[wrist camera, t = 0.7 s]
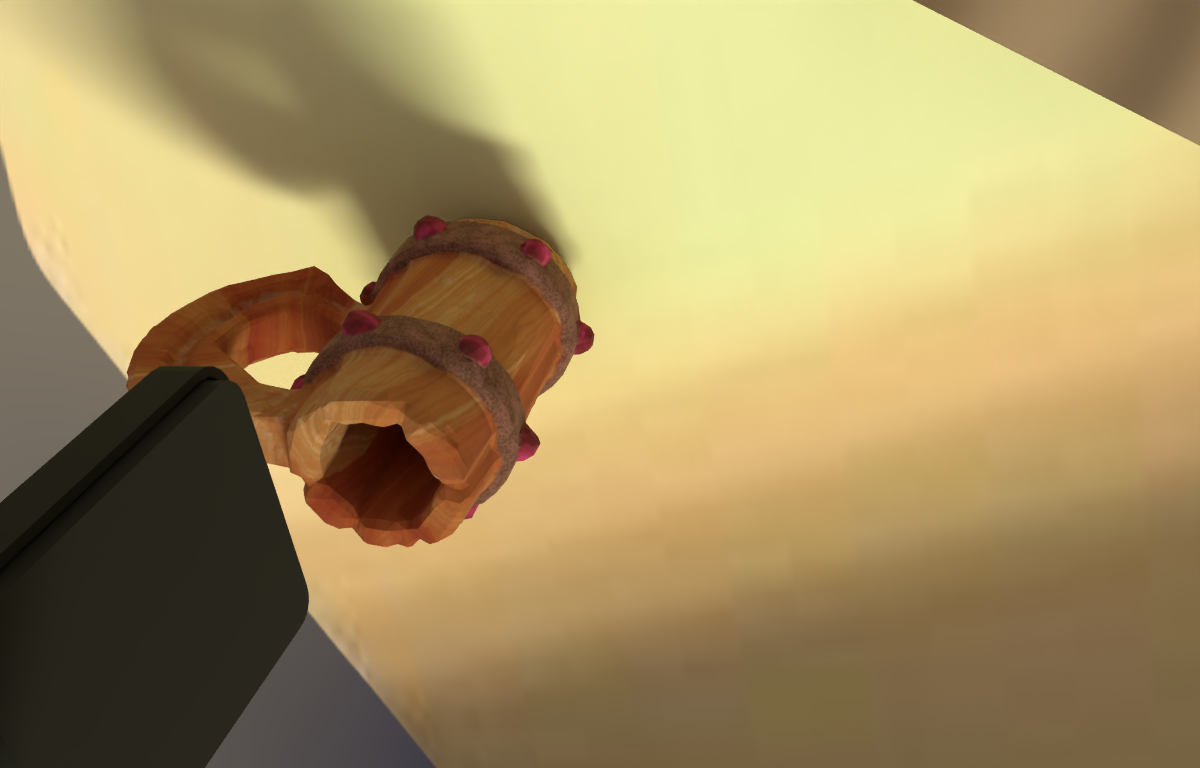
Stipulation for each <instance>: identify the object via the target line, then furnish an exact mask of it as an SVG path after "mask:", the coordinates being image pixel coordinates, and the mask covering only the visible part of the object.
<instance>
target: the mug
mask: <svg viewBox="0 0 1200 768" xmlns="http://www.w3.org/2000/svg"><path fill="white" fill-rule="evenodd" d="M576 292H577V286H576V283H575V281H574V279H573V276H572V274H571V272H570V270H569V269H568V267H567V265H566V264H565V262H564V261H563V260H562V258H561V257H560V256H559V255H558V254H557V253H556V252H555V251H554V250H553V249H552V248H551V247H550V245H549V244H548V243H547V242H546V241H544V240H542V239H540V238H538V237H536V236H534V235H532V234H530V233H529V232H527V231H524V230H522V229H520V228H518V227H516V226H514V225H512V224H509V223H507V222H505V221H499V220H487V219H481V218H477V219H459V220H455V221H453V222H446V223H445V222H444V221H443V220H441V219H439V218H438V217H434V216H426V217H424V218H422V219H420V220H419V221H418V222H417V223H416V225H415V226H414V235H413V236H411V237H409V238H408V239H407V240H406V241H405V242H404V243H403V244H402V246H401V247H400V248H399V249H398V250H397V252H396V253H395V254H394V256H393V257H392V258H391V259H390V261H389V262H388V263H387V265H386V266H385V268H384V269H383V271H382V272H381V274H380V276H379V278H378V280H377V282H371V283H369V284H368V285H366V286H365V287H364V288H363V291H362V293H361V295H360V300H361V303H362V304H361V303H359V302H357V301H355V300H354V299H352V298H351V297H350V296H349V295H348V294H346V293H345V292H344V291H343V290H342V289H341V288H340V287H339V286H338V285H337V284H336V283H335V282H334V281H333V280H332V278H331V277H330V276H329V275H328V274H327V273H325V272H323V271H322V270H320V269H318V268H317V267H315V266H313V267H309V268H305V269H301V270H297V271H293V272H288V273H282V274H276V275H271V276H267V277H263V278H259V279H255V280H250V281H246V282H242V283H237V284H232V285H228V286H225V287H223V288H220V289H218V290H215V291H213V292H210V293H208V294H206V295H204V296H202V297H201V298H199V299H197V300H195V301H193V302H191V303H189V304H187V305H186V306H184V307H182V308H181V309H179V310H177V311H175V312H174V313H172V314H170V315H169V316H168V317H167V318H165V319H164V320H163V321H162V322H160V323H159V324H158V325H156V326H154V327H153V328H152V329H151V330H150V331H149V332H148V334H147V335H146V336H145V337H144V338H143V339H142V341H141V342H140V343H139V345H138V346H137V348H136V349H135V351H134V353H133V356H132V359H131V362H130V365H129V368H128V371H127V374H128V382H127V385H126V387H127V389H128V391H129V390H131V389H132V388H133V387H134V386H135V385H136V384H137V383H139V382H140V381H141V380H142V379H143V378H144V377H146V376H147V375H148V374H149V373H150V372H151V371H153V370H154V369H156V368H158V367H160V366H214V367H216V368H219V369H221V370H222V371H223V372H224V373H225V374H226V375H227V377H228V379H229V381H232V382H235V383H237V385H238V386H239V387H240V388H241V389H242V392H243V394H244V396H245V399H246V402H247V405H248V408H249V411H250V414H251V417H252V420H253V423H254V426H255V429H256V432H257V435H258V438H259V441H260V444H261V447H262V451H263V454H264V457H265V460H266V463H269V464H274V465H279V466H283V467H288V468H290V472H291V473H293V474H295V475H298V476H300V477H302V479H303V480H304V482H305V486H304V496H305V501H306V503H307V504H308V505H309V507H310V508H311V509H312V510H313V511H314V512H315V513H316V514H317V515H318V516H319V517H320V518H321V519H322V520H323V521H324V522H325V523H327V524H329V525H331V526H334V527H336V528H338V529H341V528H351V527H352V528H353V529H354V530H355V532H356V533H357V534H358V535H359V536H360V537H361V538H362V540H363V541H364V542H366V543H367V544H371V545H377V546H382V547H389V546H392V545H396V544H400V545H403V546H406V547H410V546H413V545H414V544H415V543H416V542H417V541H418V540H419V539H422V540H423V541H425V542H427V543H429V544H432V543H435V542H438V541H440V540H442V539H444V538H446V537H448V536H449V535H451V534H453V533H454V531H455V530H456V529H457V528H458V526H459V525H460V524H461V523H462V522H463V520H464V519H468V518H472V516H473V514H474V513H475V511H476V509H477V507H478V505H479V504H481V503H484V502H485V501H486V500H487V499H489V498H490V497H491V496H493V495H494V494H495V493H496V492H497V491H498V490H499V489H500V487H501V486H502V485H503V484H504V483H505V481H506V480H507V478H508V476H509V475H510V473H511V471H512V469H513V467H514V465H515V463H516V461H524V460H526V459H528V458H529V457H531V456H533V455H534V454H535V452H536V450H537V449H538V447H539V445H540V441H539V438H538V437H537V435H536V434H535V433H534V432H533V431H532V429H531V428H530V427H529V426H528V425H527V424H526V419H527V417H528V415H529V413H530V411H531V408H532V407H533V405H534V404H535V401H536V399H537V397H538V396H540V395H541V394H543V393H544V392H545V391H547V390H548V389H549V388H551V387H552V386H553V385H554V384H555V383H556V382H557V381H558V380H559V379H560V377H561V376H562V375H563V374H564V372H565V370H566V368H567V366H568V364H569V362H570V360H571V358H572V356H573V355H574V354H582V353H584V352H586V351H588V350H589V349H590V348H591V347H592V345H593V340H594V333H593V331H592V329H591V327H589V326H588V325H586V324H585V323H583V322H581V321H580V314H579V307H578V303H577V300H576ZM289 352H297V353H305V352H316V353H319V355H318V356H317V357H316V358H315V360H314V361H313V362H312V364H311V366H310V367H309V369H308V371H307V372H306V374H304V375H301V376H300V377H298V378H297V379H296V380H295V381H294V383H293V385H292V387H291V389H290V390H289V389H284V388H279V387H274V386H269V385H265V384H261V383H259V382H257V381H256V380H255V379H254V378H253V377H252V376H251V375H250V374H248V373H247V372H246V371H245V370H244V368H246V367H247V366H248V365H250V364H253V363H256V362H259V361H262V360H264V359H267V358H270V357H273V356H276V355H280V354H284V353H289Z"/></svg>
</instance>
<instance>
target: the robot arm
mask: <svg viewBox="0 0 1200 768" xmlns="http://www.w3.org/2000/svg"><path fill="white" fill-rule="evenodd" d="M308 603H309V593H308V588H307V584H306V581H305V578H304V575H303V572H302V569H301V566H300V563H299V560H298V557H297V554H296V551H295V548H294V545H293V542H292V539H291V536H290V533H289V530H288V527H287V524H286V520H285V517H284V514H283V511H282V508H281V505H280V502H279V499H278V496H277V493H276V490H275V487H274V484H273V481H272V478H271V475H270V472H269V469H268V466H267V463H266V460H265V457H264V454H263V451H262V447H261V444H260V441H259V438H258V435H257V432H256V429H255V426H254V423H253V420H252V417H251V414H250V411H249V408H248V405H247V402H246V399H245V396H244V394H243V392H242V389H241V388H240V387H239V386H238V385H237V383H235V382H232V381H229V379H228V377H227V375H226V374H225V373H224V372H223V371H222V370H221V369H219V368H216V367H214V366H160V367H158V368H156V369H154V370H153V371H151V372H150V373H149V374H148V375H147V376H146V377H144V378H143V379H142V380H141V381H140V382H139V383H137V384H136V385H135V386H134V387H133V388H132V389H131V390H129V391H128V392H127V393H126V394H125V395H124V396H123V397H121V398H120V399H119V400H118V401H117V402H116V403H115V404H113V405H112V406H111V407H110V408H109V409H108V410H107V411H105V412H104V413H103V414H102V415H101V416H100V417H98V418H97V419H96V420H95V421H94V422H93V423H91V424H90V426H88V427H87V428H86V429H85V430H84V431H82V432H81V433H80V434H79V435H78V436H77V437H75V438H74V439H73V440H72V441H71V442H70V443H69V444H67V445H66V446H65V447H64V448H63V449H62V450H60V451H59V452H58V453H57V454H56V455H55V456H54V457H53V458H51V459H50V460H49V461H48V462H47V463H46V464H44V465H43V466H42V467H41V468H40V469H39V470H37V471H36V472H35V473H34V474H33V475H32V476H31V477H29V478H28V479H27V480H26V481H25V482H24V483H22V484H21V485H20V486H19V487H18V488H17V489H16V490H14V491H13V492H12V493H11V494H10V495H9V496H8V497H6V498H5V499H4V500H3V501H2V502H1V503H0V768H205V767H206V765H207V764H208V762H209V761H210V759H211V758H212V756H213V755H214V753H215V752H216V750H217V749H218V748H219V746H220V745H221V743H222V742H223V740H224V739H225V737H226V736H227V734H228V733H229V731H230V730H231V729H232V727H233V726H234V724H235V723H236V721H237V720H238V718H239V717H240V715H241V714H242V712H243V711H244V709H245V708H246V707H247V705H248V704H249V702H250V701H251V699H252V698H253V696H254V695H255V693H256V692H257V690H258V689H259V687H260V686H261V684H262V683H263V681H264V680H265V679H266V677H267V676H268V674H269V672H270V671H271V670H272V668H273V667H274V665H275V664H276V662H277V661H278V659H279V658H280V657H281V655H282V653H283V652H284V651H285V649H286V648H287V646H288V645H289V643H290V642H291V640H292V639H293V638H294V636H295V635H296V633H297V632H298V630H299V629H300V627H301V625H302V624H303V622H304V620H305V617H306V614H307V610H308Z"/></svg>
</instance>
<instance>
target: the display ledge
mask: <svg viewBox="0 0 1200 768" xmlns="http://www.w3.org/2000/svg"><path fill="white" fill-rule="evenodd" d="M914 1H916V2H918V3H919V4H921V5H923V6H925V7H927V8H929V9H931V10H933V11H935V12H937V13H939V14H941V15H943V16H945V17H947V18H949V19H951V20H953V21H955V22H957V23H959V24H961V25H963V26H965V27H967V28H969V29H971V30H973V31H975V32H977V33H979V34H981V35H983V36H985V37H987V38H989V39H991V40H992V41H994V42H996V43H998V44H1000V45H1002V46H1004V47H1006V48H1008V49H1010V50H1012V51H1014V52H1016V53H1018V54H1020V55H1022V56H1024V57H1026V58H1028V59H1030V60H1032V61H1034V62H1036V63H1038V64H1040V65H1042V66H1044V67H1046V68H1048V69H1050V70H1052V71H1054V72H1056V73H1058V74H1060V75H1062V76H1064V77H1065V78H1067V79H1069V80H1071V81H1073V82H1075V83H1077V84H1079V85H1081V86H1083V87H1085V88H1087V89H1089V90H1091V91H1093V92H1095V93H1097V94H1099V95H1101V96H1103V97H1105V98H1107V99H1109V100H1111V101H1113V102H1115V103H1117V104H1119V105H1121V106H1123V107H1125V108H1127V109H1129V110H1131V111H1133V112H1135V113H1137V114H1139V115H1140V116H1142V117H1144V118H1146V119H1148V120H1150V121H1152V122H1154V123H1156V124H1158V125H1160V126H1162V127H1164V128H1166V129H1168V130H1170V131H1172V132H1174V133H1176V134H1178V135H1180V136H1182V137H1184V138H1186V139H1188V140H1190V141H1192V142H1194V143H1196V144H1198V145H1200V0H914Z"/></svg>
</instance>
